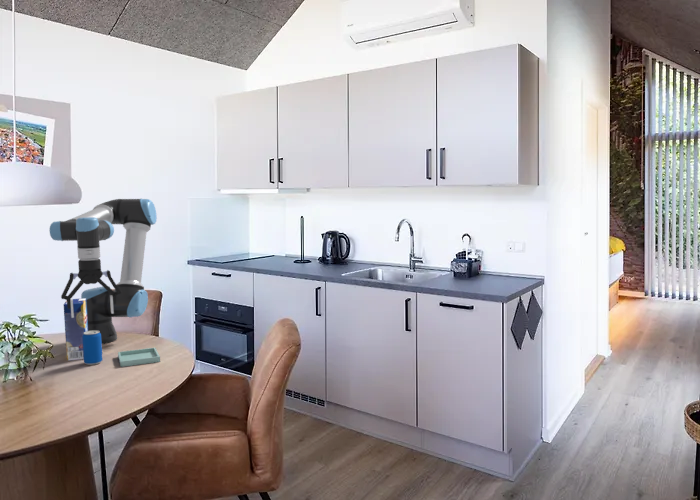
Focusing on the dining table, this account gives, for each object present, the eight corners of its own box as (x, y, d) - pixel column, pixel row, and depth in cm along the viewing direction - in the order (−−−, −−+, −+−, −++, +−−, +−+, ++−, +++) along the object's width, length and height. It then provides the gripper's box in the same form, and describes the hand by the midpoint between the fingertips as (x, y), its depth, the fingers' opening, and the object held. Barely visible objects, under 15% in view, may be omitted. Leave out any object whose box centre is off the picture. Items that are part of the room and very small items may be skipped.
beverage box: (89, 351, 228) (86, 298, 226) (86, 358, 218) (83, 303, 216) (70, 352, 226) (67, 299, 224) (66, 360, 216) (63, 304, 213)
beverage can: (105, 360, 216) (104, 330, 214) (96, 365, 209) (95, 334, 208) (90, 360, 216) (88, 329, 215) (80, 365, 210) (78, 334, 208)
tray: (118, 356, 220) (117, 352, 220) (155, 352, 226) (155, 347, 226) (120, 367, 208) (120, 361, 207) (160, 361, 214) (160, 356, 214)
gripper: (51, 262, 199) (55, 320, 202) (126, 257, 211) (129, 313, 213) (51, 260, 206) (55, 316, 208) (124, 255, 217) (127, 309, 220)
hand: (92, 315), depth 211 cm, fingers open, 13 cm apart
